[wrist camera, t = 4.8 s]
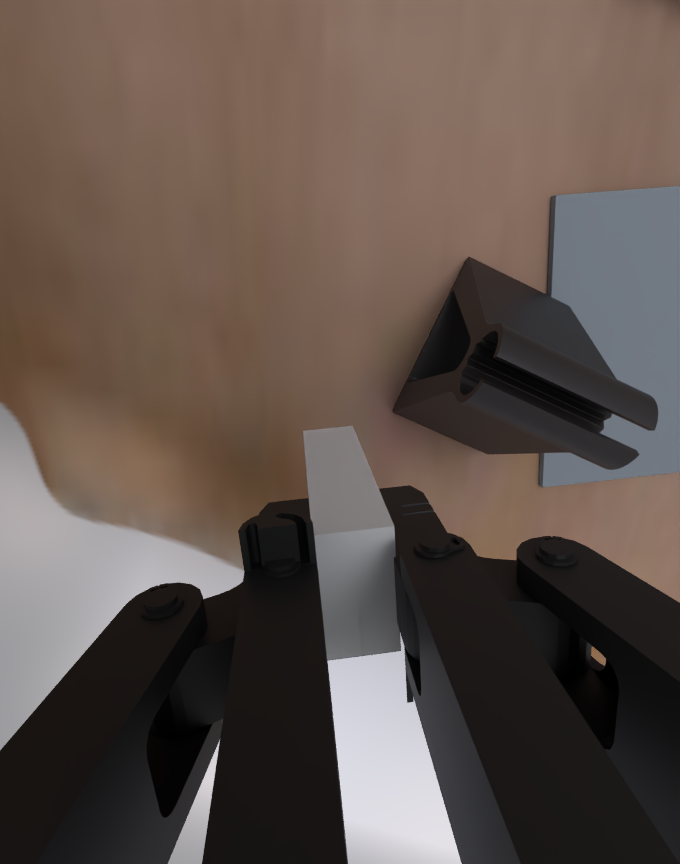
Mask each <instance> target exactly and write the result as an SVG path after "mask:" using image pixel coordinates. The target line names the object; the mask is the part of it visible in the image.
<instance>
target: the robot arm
mask: <svg viewBox="0 0 680 864" xmlns="http://www.w3.org/2000/svg"><path fill="white" fill-rule="evenodd" d="M303 437H304V448H305V460H306V472H307V483H308V495H309V498H306V499H297V500H288V501H279V502H270V503H268V504H267V505H266V506H265V507H264V509H263V510H262V511H261V512H260V513H259V515H258V516H255V517H253V518H250V519H249V520H248V521H246V522H245V523H243V524H242V526H241V527H240V529H239V531H238V532H239V538H240V545H241V552H242V558H243V565H244V571H245V572H244V579H243V582H242V583H241V584H240V585H238V586H237V587H235V588H233V589H231V590H229V591H226V592H224V593H221V594H219V595H216V596H212V597H209V598H206V599H203V596H202V594H201V591H200V589H198V588H197V587H195V586H193V585H191V584H185V583H170V584H168V583H167V584H161V585H160V586H155V587H152V588H150V589H148V590H146V591H144V592H142V593H140V594H138V595H137V596H135V597H134V598H133V599H132V600H131V601H129V602H128V603H127V604H126V605H125V606H124V607H123V609H122V610H121V611H120V612H119V613H118V614H117V615H116V617H115V618H114V619H113V620H112V621H111V622H110V624H109V625H108V626H107V627H106V628H105V629H104V631H103V632H102V633H101V634H100V635H99V636H98V638H97V639H96V640H95V641H94V642H93V643H92V645H91V646H90V647H89V648H88V649H87V650H86V651H85V653H84V654H83V655H82V656H81V657H80V659H79V660H78V661H77V662H76V663H75V664H74V666H73V667H72V668H71V669H70V670H69V671H68V672H67V674H66V675H65V676H64V677H63V678H62V680H61V681H60V682H59V683H58V684H57V685H56V686H55V688H54V689H53V690H52V691H51V692H50V693H49V695H48V696H47V697H46V698H45V699H44V700H43V701H42V703H41V704H40V705H39V706H38V707H37V709H36V710H35V711H34V712H33V713H32V714H31V715H30V717H29V718H28V719H27V720H26V721H25V723H24V724H23V725H22V726H21V727H20V728H19V729H18V731H17V732H16V733H15V734H14V735H13V736H12V738H11V739H10V740H9V741H8V742H7V743H6V745H5V746H4V747H3V748H2V749H1V750H0V864H168V861H169V859H170V856H171V854H172V852H173V849H174V847H175V845H176V842H177V840H178V837H179V835H180V833H181V830H182V828H183V825H184V823H185V821H186V818H187V816H188V814H189V811H190V809H191V806H192V804H193V802H194V799H195V797H196V794H197V792H198V790H199V787H200V785H201V783H202V780H203V778H204V776H205V773H206V771H207V768H208V766H209V764H210V761H211V759H212V756H213V754H214V752H215V749H216V747H217V744H218V742H219V740H220V745H219V752H218V758H217V765H216V772H215V779H214V786H213V792H212V799H211V806H210V814H209V821H208V828H207V834H206V841H205V848H204V854H203V861H202V864H348V859H347V850H346V839H345V830H344V821H343V810H342V800H341V790H340V781H339V771H338V761H337V751H336V742H335V731H334V722H333V712H332V702H331V692H330V682H329V673H328V663H327V661H328V660H334V659H343V658H350V657H358V656H365V655H373V654H381V653H388V652H396V651H401V644H400V633H401V636H402V639H403V643H404V646H405V665H406V683H407V702H413V696H414V700H415V703H416V707H417V710H418V714H419V717H420V721H421V724H422V728H423V731H424V734H425V738H426V741H427V745H428V748H429V752H430V755H431V758H432V762H433V765H434V769H435V772H436V775H437V779H438V782H439V786H440V790H441V793H442V797H443V800H444V804H445V807H446V810H447V814H448V817H449V821H450V824H451V828H452V831H453V835H454V838H455V842H456V845H457V849H458V852H459V855H460V859H461V862H462V864H680V603H679V602H677V601H676V600H674V599H672V598H671V597H669V596H667V595H666V594H664V593H662V592H661V591H659V590H658V589H656V588H654V587H653V586H651V585H649V584H648V583H646V582H644V581H643V580H641V579H639V578H638V577H636V576H634V575H633V574H631V573H630V572H628V571H626V570H625V569H623V568H621V567H620V566H618V565H616V564H615V563H613V562H611V561H610V560H608V559H606V558H605V557H603V556H602V555H600V554H598V553H597V552H595V551H593V550H592V549H590V548H588V547H587V546H584V545H582V544H580V543H578V542H576V541H573V540H568V539H564V538H562V537H556V536H553V537H551V536H543V537H538V538H531V539H529V540H527V541H525V542H522V543H521V544H520V546H519V547H518V548H517V560H502V559H491V558H483V557H479V556H477V555H476V553H475V552H474V550H473V549H472V547H471V546H470V544H469V543H467V542H466V541H465V540H464V539H463V538H461V537H458V536H456V535H454V534H450V533H447V531H446V530H445V528H444V526H443V525H442V523H441V521H440V520H439V518H438V516H437V515H436V513H435V512H434V510H433V508H432V507H431V505H430V504H429V502H428V500H427V498H426V497H425V495H424V493H422V492H421V491H419V490H417V489H415V488H414V487H412V486H401V487H392V488H383V489H379V488H378V486H377V483H376V481H375V478H374V476H373V474H372V471H371V469H370V466H369V464H368V462H367V459H366V457H365V454H364V452H363V449H362V447H361V445H360V442H359V440H358V437H357V435H356V433H355V430H354V428H353V426H345V427H335V428H325V429H316V430H306V431H303ZM592 646H593V647H594V648H595V649H597V650H598V651H599V652H600V653H601V654H602V655H603V656H604V657H605V658H606V664H605V666H603V665H602V664H600V663H599V662H598V661H596V660H595V659H594V658H593V657H592V656H591V648H592Z"/></svg>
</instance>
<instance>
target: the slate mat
mask: <svg viewBox="0 0 680 864" xmlns="http://www.w3.org/2000/svg"><path fill="white" fill-rule="evenodd" d="M547 295H548V296H550V297H552V298H554V299H556V300H558V301H560V302H562V303H564V304H566V305H568V306H570V308H571V309H572V311H573V312H574V314H575V315H576V317H577V318H578V320H579V321H580V323H581V325H582V326H583V328H584V329H585V331H586V332H587V334H588V335H589V337H590V338H591V340H592V342H593V343H594V345H595V346H596V348H597V349H598V351H599V352H600V354H601V355H602V357H603V359H604V360H605V362H606V363H607V365H608V366H609V368H610V369H611V371H612V372H613V374H614V376H615V377H616V379H617V380H619V381H621V382H623V383H626V384H628V385H630V386H632V387H634V388H636V389H638V390H640V391H642V392H644V393H646V394H649V395H650V396H652V397H653V398H654V399H655V401H656V403H657V406H658V421H657V425H656V429H655V430H654V431H648V430H646V429H644V428H642V427H640V426H638V425H636V424H634V423H631V422H629V421H627V420H625V419H623V418H621V417H619V416H616V415H614V414H612V416H611V418H609V419H607V420H605V421H604V429H603V430H602V431H601V432H600V433H601V434H603V435H605V436H607V437H609V438H612V439H614V440H616V441H618V442H620V443H622V444H625V445H627V446H629V447H631V448H633V449H635V450H637V451H638V453H639V456H638V457H637V458H636V459H634V460H633V461H632V462H631V463H629V464H628V465H626V466H624V467H622V468H619V469H615V470H608V469H605V468H602V467H600V466H598V465H596V464H594V463H591V462H589V461H587V460H585V459H583V458H580V457H578V456H576V455H574V454H572V453H540V470H539V485H540V486H542V487H551V486H560V485H569V484H578V483H587V482H595V481H604V480H613V479H622V478H631V477H640V476H649V475H658V474H666V473H675V472H680V186H673V187H660V188H646V189H633V190H620V191H607V192H593V193H580V194H567V195H555V196H552V197H551V214H550V238H549V261H548V284H547Z"/></svg>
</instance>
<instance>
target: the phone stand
mask: <svg viewBox="0 0 680 864" xmlns="http://www.w3.org/2000/svg"><path fill="white" fill-rule="evenodd" d="M393 412H394V413H396V414H399V415H401V416H403V417H405V418H408V419H410V420H412V421H414V422H417V423H419V424H421V425H423V426H425V427H428V428H430V429H432V430H434V431H437V432H439V433H441V434H443V435H446V436H448V437H450V438H452V439H455V440H457V441H459V442H461V443H464V444H466V445H468V446H470V447H473V448H475V449H477V450H479V451H482V452H484V453H486V454H524V453H572V454H574V455H576V456H578V457H580V458H583V459H585V460H587V461H589V462H591V463H594V464H596V465H598V466H600V467H602V468H605V469H608V470H615V469H619V468H622V467H624V466H626V465H628V464H629V463H631V462H632V461H633V460H634V459H636V458H637V457H638V456H639V453H638V451H637V450H635V449H633V448H631V447H629V446H627V445H625V444H622V443H620V442H618V441H616V440H614V439H612V438H609V437H607V436H605V435H603V434H601V433H600V432H601V431H602V430H603V429H604V421H605V420H607V419H609V418H611V416H612V414H614V415H616V416H619V417H621V418H623V419H625V420H627V421H629V422H631V423H634V424H636V425H638V426H640V427H642V428H644V429H646V430H648V431H654V430H655V429H656V425H657V421H658V406H657V403H656V401H655V399H654V398H653V397H652V396H650V395H649V394H646V393H644V392H642V391H640V390H638V389H636V388H634V387H632V386H630V385H628V384H626V383H623V382H621V381H619V380H617V379H616V377H615V376H614V374H613V372H612V371H611V369H610V368H609V366H608V365H607V363H606V362H605V360H604V359H603V357H602V355H601V354H600V352H599V351H598V349H597V348H596V346H595V345H594V343H593V342H592V340H591V338H590V337H589V335H588V334H587V332H586V331H585V329H584V328H583V326H582V325H581V323H580V321H579V320H578V318H577V317H576V315H575V314H574V312H573V311H572V309H571V308H570V306H568V305H566V304H564V303H562V302H560V301H558V300H556V299H554V298H552V297H550V296H548V295H546V294H544V293H542V292H540V291H538V290H536V289H534V288H532V287H530V286H528V285H526V284H524V283H522V282H519V281H517V280H515V279H513V278H511V277H509V276H507V275H505V274H503V273H501V272H499V271H497V270H495V269H493V268H491V267H489V266H487V265H485V264H483V263H481V262H479V261H477V260H475V259H473V258H471V257H468V258H467V260H466V261H465V263H464V265H463V267H462V269H461V271H460V273H459V275H458V277H457V279H456V281H455V283H454V285H453V287H452V289H451V291H450V294H449V296H448V298H447V300H446V302H445V304H444V306H443V308H442V310H441V312H440V314H439V316H438V318H437V320H436V322H435V324H434V326H433V328H432V330H431V332H430V336H429V338H428V339H427V340H426V342H425V345H424V347H423V349H422V351H421V353H420V355H419V357H418V359H417V361H416V363H415V365H414V367H413V369H412V371H411V373H410V375H409V377H408V379H407V381H406V383H405V385H404V387H403V389H402V391H401V394H400V396H399V398H398V400H397V402H396V404H395V406H394V408H393Z"/></svg>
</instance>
